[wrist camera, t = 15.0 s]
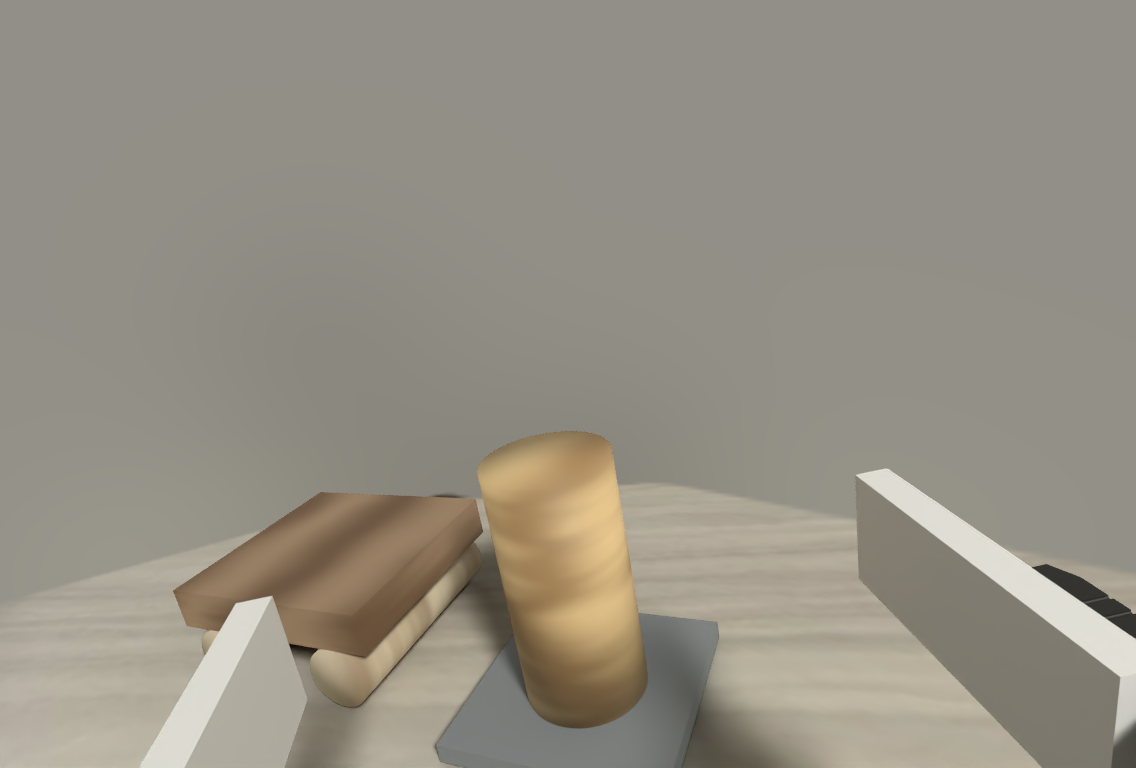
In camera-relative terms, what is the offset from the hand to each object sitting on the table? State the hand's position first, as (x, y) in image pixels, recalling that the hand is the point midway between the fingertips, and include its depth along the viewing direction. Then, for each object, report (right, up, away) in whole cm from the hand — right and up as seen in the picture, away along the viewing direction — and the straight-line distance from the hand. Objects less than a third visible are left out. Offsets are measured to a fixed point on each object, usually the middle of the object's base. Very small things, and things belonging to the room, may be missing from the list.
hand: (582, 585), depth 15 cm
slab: (-11, -8, +20) cm, 25 cm away
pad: (+1, -8, +13) cm, 15 cm away
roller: (+1, -8, +13) cm, 15 cm away
